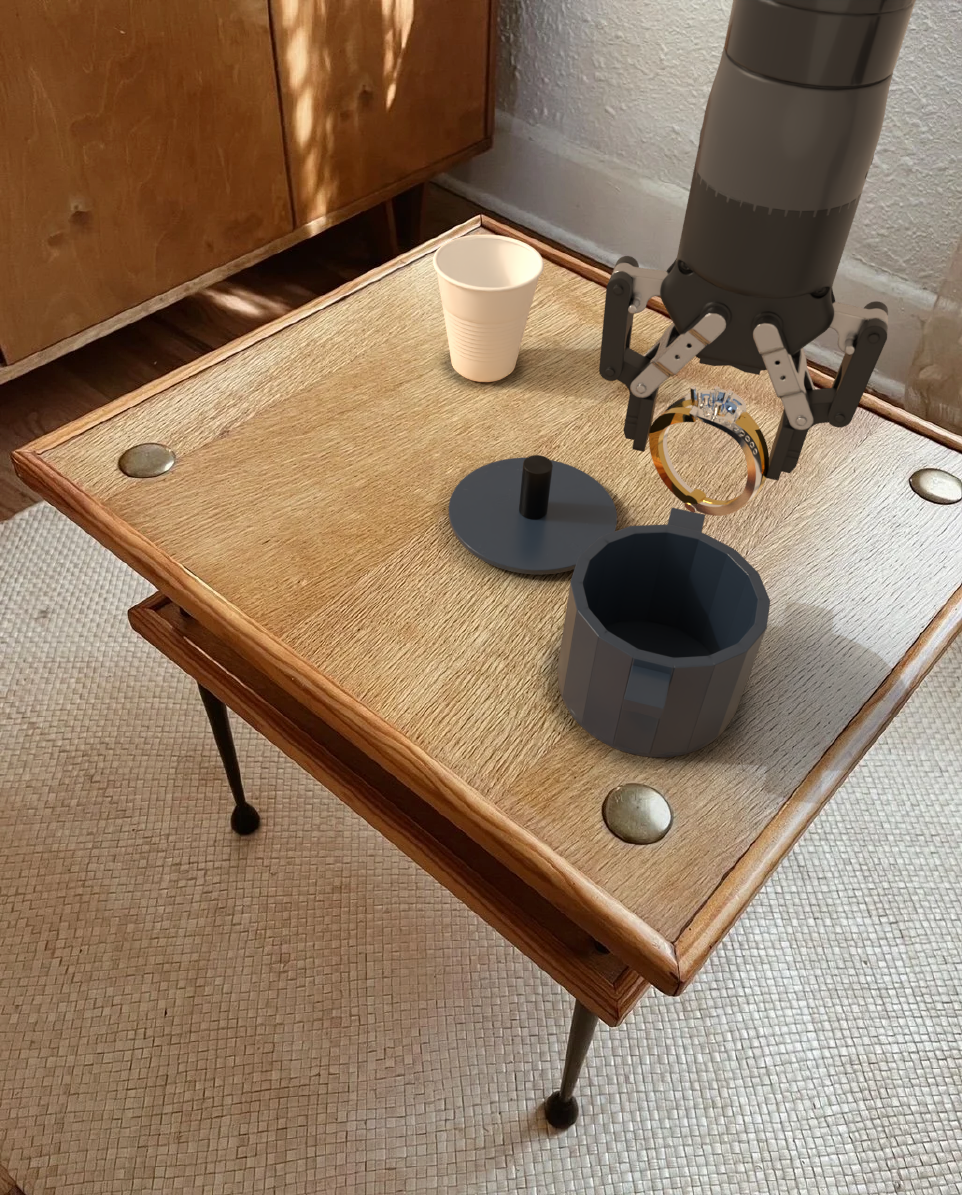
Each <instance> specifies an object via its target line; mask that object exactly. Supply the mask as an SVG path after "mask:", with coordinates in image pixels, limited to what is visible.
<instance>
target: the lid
mask: <svg viewBox="0 0 962 1195" xmlns="http://www.w3.org/2000/svg"><path fill="white" fill-rule="evenodd" d="M448 521H449V525H450V528H451V530H452V532H453V535H454V536H455V537H456V539H457V541H458V542H459V543H460V544H461V546H462V547H463V548H465V549H466V550H467V551H468V552H469V553H470V554H471V555H473V556H475V557H476V558H477V559H479V560H481V561H482V562H485V563H487V564H488V565H491V566H494V567H496V568H498V569H501V570H505V571H508V572H512V573H518V574H524V575H553V574H560V573H565V572H570V571H574V569H575V566H576V563H577V560H578V557H579V556H580V555H581V554H582V553H583V552H584V551H585V550H586V549H587V548H589V547H590V546H591V545H592V544H593V543H594V542H595V541H596V540H597V539H598V538H599V537H601V536H604V535H607V534H609V533H612V532H615V531H617V527H618V526H617V525H618V513H617V508H616V504H615V502H614V500H613V498H612V497H611V495H610V493H609V492H608V491H607V489H605V487H604V486H603V485H602V484H601V483H600V482H599V481H598V480H597V479H596V478H594V477H593V476H591V475H590V474H588V473H587V472H584V471H583V470H581V469H579V468H577V467H575V466H574V465H570V464H567V463H564V462H561V461H557V460H553V459H550V458H548V457H546V456H544V455H541V454H540V455H539V454H534V455H530V456H528V457H514V458H513V457H512V458H505V459H500V460H497V461H491V462H490V463H486V464H483V465H481V466H480V467H477V468H476V469H474V470H473V471H471V472H470V473H468V474H466V476H464V478H462V479H461V480H460V481H459V483H458V484H457V485H456V486H455V488H454V489H453V491H452V492H451V496H450V499H449V502H448Z"/></svg>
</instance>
